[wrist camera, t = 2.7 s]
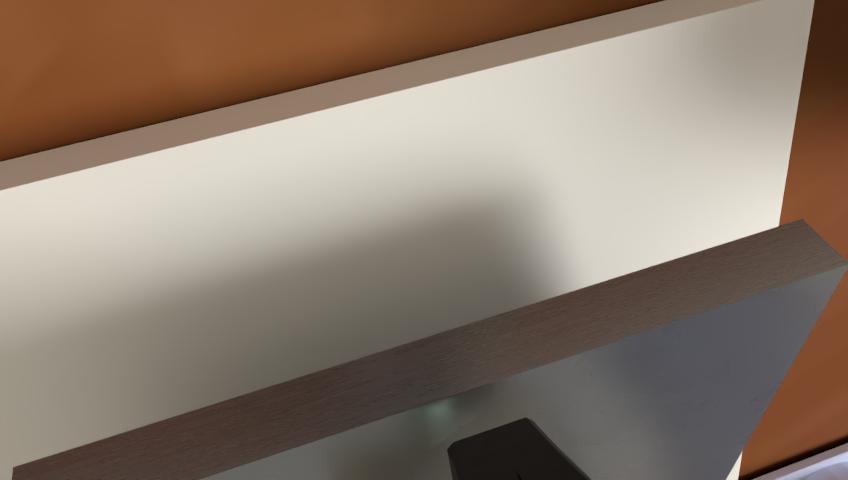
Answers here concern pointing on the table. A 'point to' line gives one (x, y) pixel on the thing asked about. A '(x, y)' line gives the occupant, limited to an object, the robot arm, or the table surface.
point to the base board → (381, 211)
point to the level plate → (523, 383)
